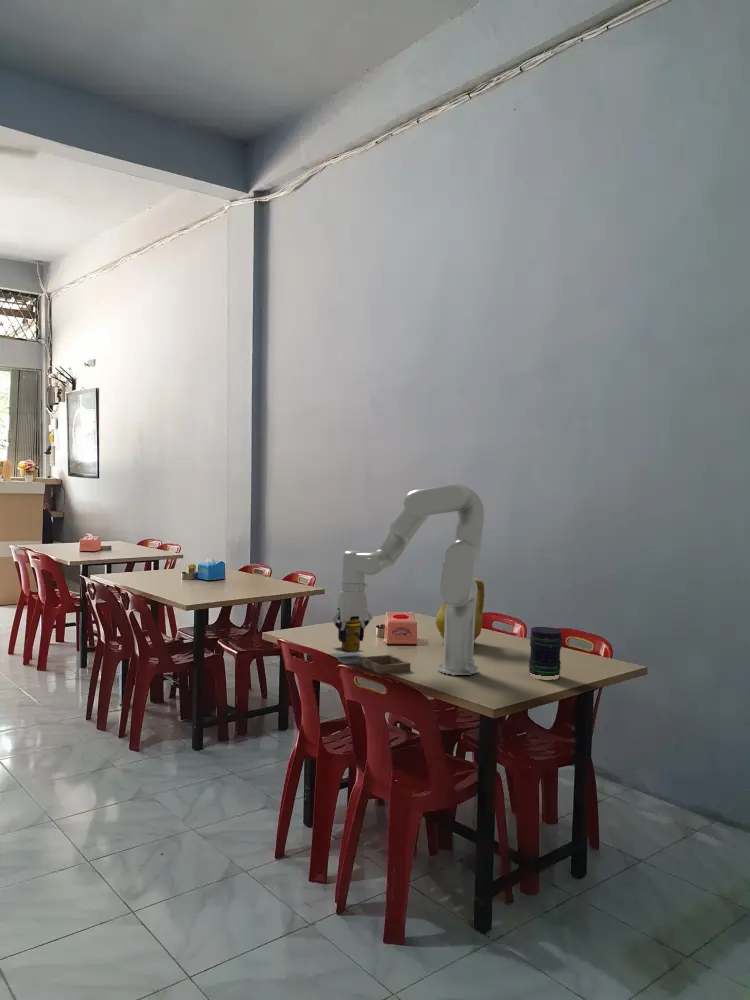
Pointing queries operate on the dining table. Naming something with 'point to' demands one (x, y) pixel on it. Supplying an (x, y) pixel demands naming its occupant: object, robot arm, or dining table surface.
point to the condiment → (351, 637)
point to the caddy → (393, 667)
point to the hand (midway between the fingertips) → (350, 640)
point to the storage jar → (545, 651)
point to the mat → (348, 657)
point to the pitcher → (478, 612)
